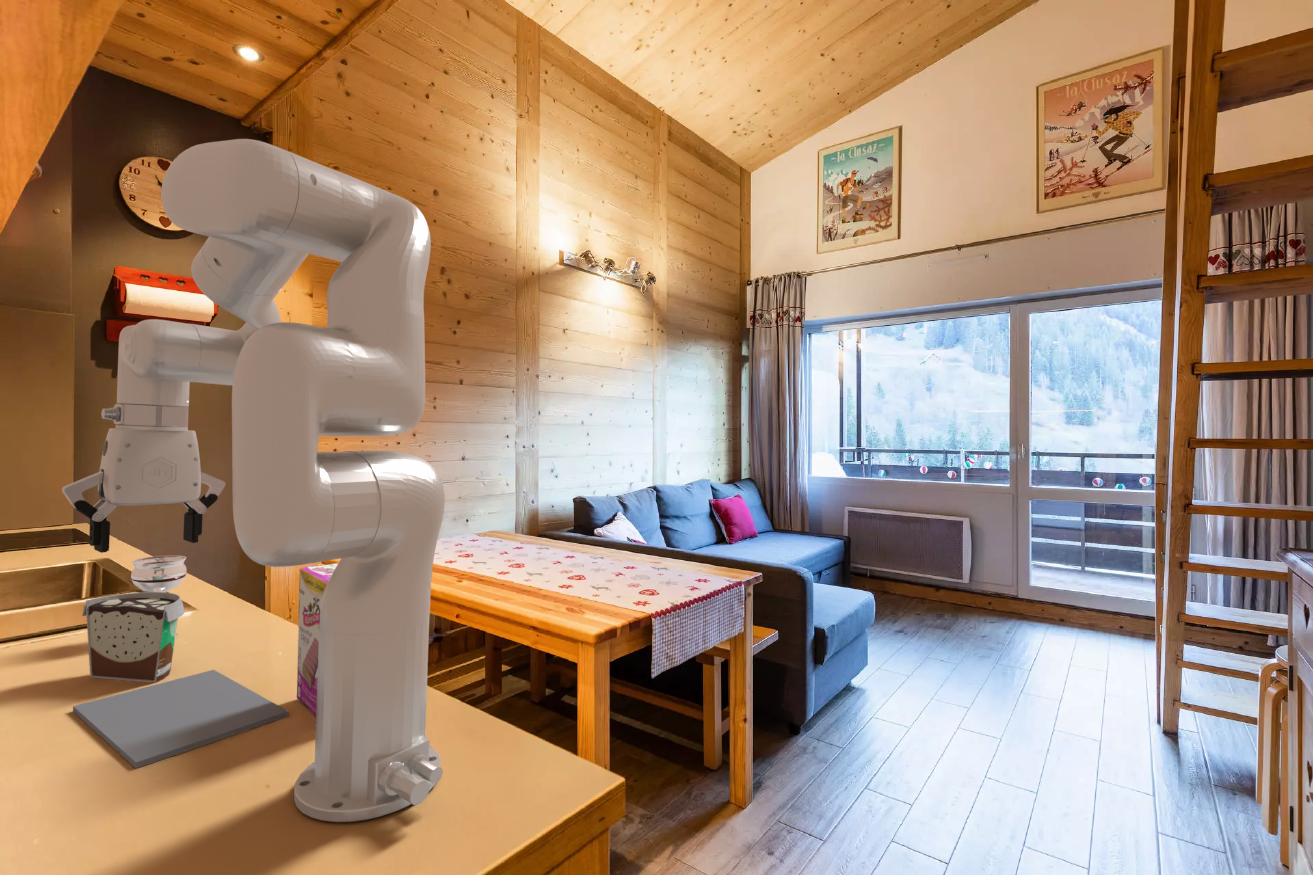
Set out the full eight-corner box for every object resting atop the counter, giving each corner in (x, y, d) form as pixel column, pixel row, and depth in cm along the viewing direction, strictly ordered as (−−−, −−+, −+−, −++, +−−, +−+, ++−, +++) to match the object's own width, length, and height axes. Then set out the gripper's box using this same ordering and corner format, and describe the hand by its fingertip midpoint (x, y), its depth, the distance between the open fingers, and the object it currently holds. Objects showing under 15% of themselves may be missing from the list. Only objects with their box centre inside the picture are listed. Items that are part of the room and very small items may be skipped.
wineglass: (161, 627, 100) (163, 554, 99) (195, 631, 98) (198, 557, 98) (116, 640, 93) (119, 562, 93) (153, 645, 92) (155, 565, 91)
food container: (206, 665, 85) (208, 593, 85) (166, 683, 79) (168, 605, 79) (125, 659, 86) (127, 588, 86) (79, 676, 80) (82, 600, 80)
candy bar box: (293, 700, 75) (297, 567, 75) (336, 688, 79) (340, 561, 79) (325, 732, 68) (330, 584, 67) (372, 718, 71) (376, 577, 71)
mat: (287, 716, 71) (288, 710, 71) (135, 768, 59) (136, 762, 59) (213, 674, 82) (213, 669, 82) (72, 711, 70) (73, 705, 70)
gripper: (75, 416, 73) (69, 559, 73) (237, 422, 87) (233, 541, 87) (56, 415, 77) (51, 550, 77) (215, 421, 91) (210, 535, 92)
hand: (148, 545), depth 82 cm, fingers open, 9 cm apart
